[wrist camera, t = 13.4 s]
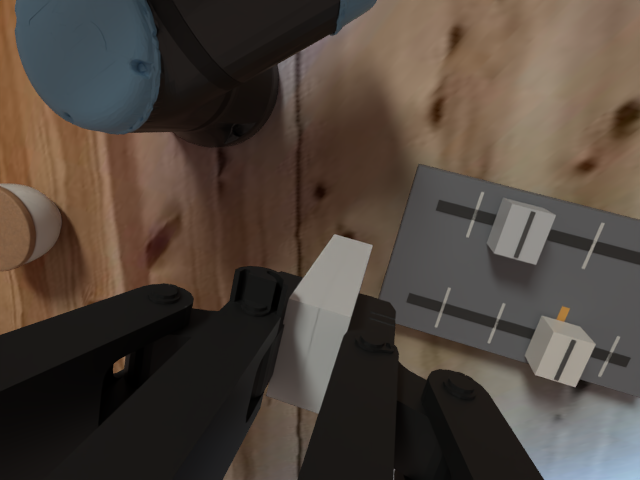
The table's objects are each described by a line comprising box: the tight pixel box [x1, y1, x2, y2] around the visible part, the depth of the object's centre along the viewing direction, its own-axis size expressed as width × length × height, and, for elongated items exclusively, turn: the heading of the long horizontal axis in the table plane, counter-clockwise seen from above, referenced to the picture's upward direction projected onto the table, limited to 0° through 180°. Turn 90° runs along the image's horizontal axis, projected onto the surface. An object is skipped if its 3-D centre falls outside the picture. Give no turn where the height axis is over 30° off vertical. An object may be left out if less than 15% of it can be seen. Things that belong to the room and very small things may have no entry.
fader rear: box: [525, 316, 596, 387], centre depth 45 cm, size 4×5×4 cm
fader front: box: [487, 198, 556, 265], centre depth 42 cm, size 4×5×4 cm
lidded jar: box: [0, 184, 62, 271], centre depth 55 cm, size 11×11×9 cm
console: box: [378, 164, 640, 397], centre depth 47 cm, size 30×18×3 cm, turn 76°
